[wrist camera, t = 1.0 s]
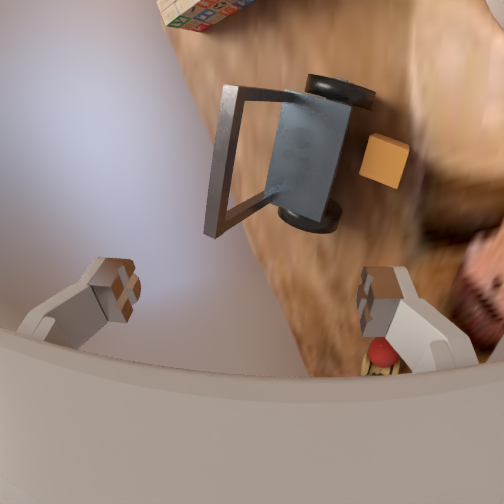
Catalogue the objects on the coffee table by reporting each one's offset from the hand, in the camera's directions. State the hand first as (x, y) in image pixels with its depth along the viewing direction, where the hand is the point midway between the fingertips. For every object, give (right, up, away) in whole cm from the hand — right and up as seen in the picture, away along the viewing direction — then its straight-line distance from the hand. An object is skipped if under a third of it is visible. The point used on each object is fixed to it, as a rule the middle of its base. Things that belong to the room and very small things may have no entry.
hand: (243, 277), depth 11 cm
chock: (+20, +15, +29) cm, 38 cm away
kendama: (+26, -21, +44) cm, 55 cm away
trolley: (+12, +16, +32) cm, 38 cm away
